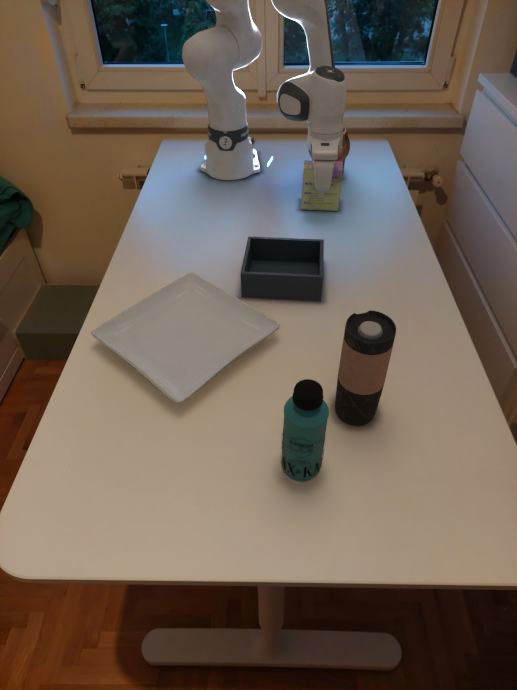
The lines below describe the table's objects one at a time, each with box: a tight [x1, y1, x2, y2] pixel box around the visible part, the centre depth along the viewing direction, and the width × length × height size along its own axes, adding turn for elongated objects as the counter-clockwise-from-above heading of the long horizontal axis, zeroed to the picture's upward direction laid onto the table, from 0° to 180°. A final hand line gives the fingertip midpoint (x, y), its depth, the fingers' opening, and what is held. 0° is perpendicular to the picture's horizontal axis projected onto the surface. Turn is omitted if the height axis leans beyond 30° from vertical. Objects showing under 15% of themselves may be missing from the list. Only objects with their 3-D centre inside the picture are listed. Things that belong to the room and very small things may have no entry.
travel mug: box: [334, 309, 397, 427], centre depth 81 cm, size 8×8×20 cm
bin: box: [240, 236, 325, 303], centre depth 114 cm, size 15×18×7 cm
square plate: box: [90, 272, 281, 405], centre depth 100 cm, size 27×27×4 cm
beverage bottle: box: [279, 378, 330, 483], centre depth 73 cm, size 6×7×20 cm
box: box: [300, 159, 344, 212], centre depth 136 cm, size 10×6×12 cm, turn 84°
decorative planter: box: [307, 126, 351, 176], centre depth 149 cm, size 20×12×14 cm, turn 173°
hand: (321, 190), depth 137 cm, fingers closed on box, 5 cm apart
